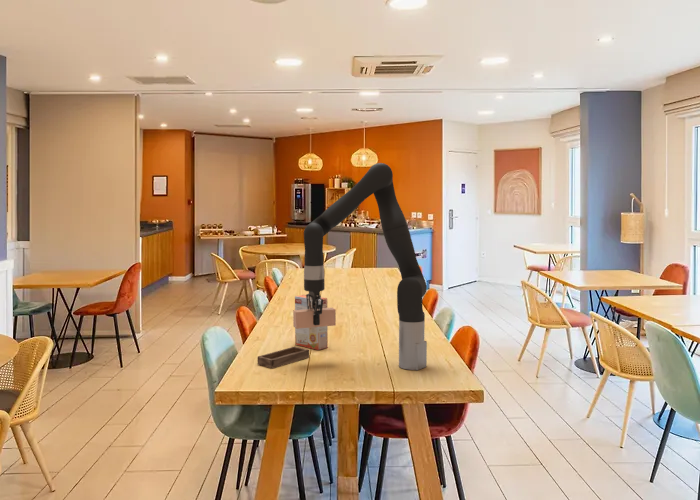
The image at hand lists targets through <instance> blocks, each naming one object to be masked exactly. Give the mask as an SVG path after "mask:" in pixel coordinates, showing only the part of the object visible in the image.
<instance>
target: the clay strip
mask: <svg viewBox="0 0 700 500" xmlns="http://www.w3.org/2000/svg"><path fill="white" fill-rule="evenodd" d="M317 311H318V309H317ZM336 312H337V311H336V309H335V308H334V307H327V308H322V314H320V324H319V325H314V324H313V309H305V310H295V309H294V310H293V311H292V313H293V314H292V315H293V317H292V318H293V319H292V321H293V328H294V329H295V328H296V329H299V328H311V327H323V326H327V327H333V326H334V327H335V326H337V325H336V322H337V320H336Z"/></svg>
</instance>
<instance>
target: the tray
mask: <svg viewBox="0 0 700 500" xmlns="http://www.w3.org/2000/svg"><path fill="white" fill-rule="evenodd" d="M309 358H310V349H307V348H304V347H300V346H299V347H298V346H296V345H295V346H291V347H288V348H284V349H280V350H277V351H273V352H269V353H266V354H262V355H259V356H257V365H258V366H262V367H265V368H269V369H276V368H278V367H282V366H286V365H288V364H293V363H295V362H299V361H302V360H305V359H309Z"/></svg>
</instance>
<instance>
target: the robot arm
mask: <svg viewBox="0 0 700 500" xmlns="http://www.w3.org/2000/svg"><path fill="white" fill-rule="evenodd" d="M393 175H394V173H393V170H392V168H391V167H390V166H389V165H388V164H386V163H382V162H378V163H374V164H373V165H371V166H370V168H369V169H368V170H367V171H366V173H364V175H363V177H361V179H360V180H359V181H358V182H357V183H356V184H355V185H354V186H353V187H352V188H351V189H350V190H348V191H347V192H346V193H345V194H343V195H342V196H340V198H338V199H337V200H336V201H335V202H333V203H332V204H331V205H330V206H329V207H328V208H327V209H325V210H324V211H323V212H322V213H321V214H320V215H319V216H318V217H316V218H315V219H314V220H313V221H311V222H310V223H309V224H307V225H306V227H305V228H304V230H303V243H304V244H303V247H304V262H303V263H304V267H303V290H304V291H305V292H308V293H307V294H305V295H306V299H307V309H313V324H314V325H319V324H320V314H322V307H323V299H321V297H322V296H321V292H323V291H325V289H326V288H325V285H326V284H325V267H324V265H325V264H324V263H325V261H324V259H325V258H324V257H325V256H324V250H323V249H324V237H325V236H326V235H327V234H328V233H329V232H331V230H333V228H336V227H337V226H338V225H340V224H341V223H342V222H343V221H345V219H346V218H348V217H349V216H351V214H352V213H353V212H354V211H355V210H356V209H357V208H358V207H359V206H360V205H361V204H363V202H364V201H365V200H367V198H369V197H370V196H371V195H373V196H374V198H375V201H376V204H377V207H378V214H379V221H380V225H381V228H382V229H381V230H382V233H383V237H384V239H385V243H386V246H387V247H388V249H389V252H390V254H392V256H393V258H394V260H395V261H396V263H397V266H398V269H399V272H400V275H401V276H400V277H401V280H400V281H399V282H398V284H397V291H396V303H397V304H396V305H397V307H396V308H397V313H398V317H399V318H398V367H399V368H401V369H404V370H413V371H419V370H422V369H424V368H426V367H427V363H428V362H427V356H428V355H427V349H428V345H427V344H428V343H427V341H426V340H425V326H426V325H425V318H426V317H425V312H424V309H423V297H424V296H425V295H426V293H427V289H428V286H427V282H426V279H425V277H424V275H423V272H422V270H421V268H420V265H419V263H418V260H417V255H416V252H415V248H414V247H415V246H414V243H413V239H412V236H411V232H410V230H409V229H410V228H409V226H408V222H407V219H406V217H405V214H404V213H403V210H402V208H401V206H400V204H399V203H398V200H397V199H398V198H397V195H396V191H395V188H394V181H393V180H394V179H393V178H394V176H393ZM310 303H311V304H310ZM317 309H318V311H317Z"/></svg>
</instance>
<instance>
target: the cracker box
mask: <svg viewBox="0 0 700 500" xmlns="http://www.w3.org/2000/svg"><path fill="white" fill-rule="evenodd" d="M321 299H323V307H322V308H328V298H327V297H323V296H321ZM310 304H311V303H310ZM305 309H307V299H306V294H300V295H295V296H294V310H305ZM328 327H329V326H323V327H311V328H299V329H296V328H295V327H294V333H295V334H294V336H295V337H294V338H295V341H294V343H295V346H299V347H302V348H306V349H307V348H309V349H312V350H316V351H320V350H324V349H328V345H329V343H328V341H329V339H328V333H329V332H328Z"/></svg>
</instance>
